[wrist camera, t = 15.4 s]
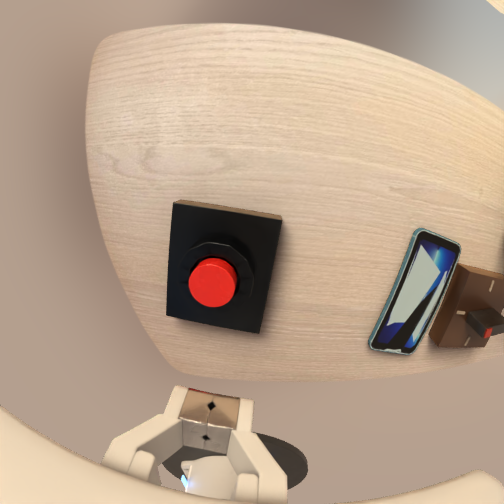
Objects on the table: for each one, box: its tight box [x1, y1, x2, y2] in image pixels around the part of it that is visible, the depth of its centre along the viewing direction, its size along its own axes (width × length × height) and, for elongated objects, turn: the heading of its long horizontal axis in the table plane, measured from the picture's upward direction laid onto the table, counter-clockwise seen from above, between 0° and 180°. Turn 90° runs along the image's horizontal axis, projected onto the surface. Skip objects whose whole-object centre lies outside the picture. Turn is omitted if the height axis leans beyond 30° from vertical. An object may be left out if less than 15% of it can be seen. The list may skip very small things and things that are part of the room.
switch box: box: [166, 200, 282, 334], centre depth 27 cm, size 12×10×4 cm
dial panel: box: [428, 263, 504, 348], centre depth 27 cm, size 10×10×3 cm
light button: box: [189, 258, 237, 307], centre depth 24 cm, size 4×4×2 cm
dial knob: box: [466, 308, 504, 338], centre depth 23 cm, size 5×1×4 cm, turn 91°
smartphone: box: [368, 228, 461, 355], centre depth 28 cm, size 7×1×15 cm
